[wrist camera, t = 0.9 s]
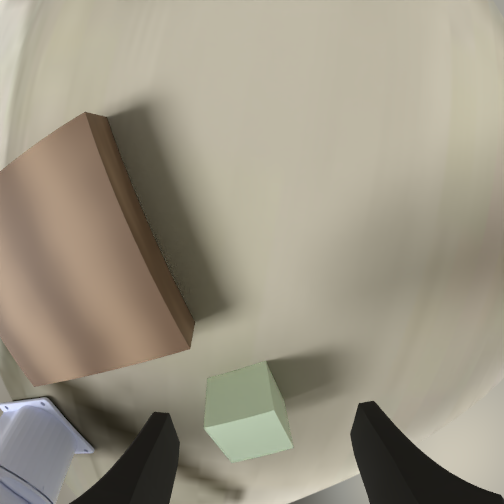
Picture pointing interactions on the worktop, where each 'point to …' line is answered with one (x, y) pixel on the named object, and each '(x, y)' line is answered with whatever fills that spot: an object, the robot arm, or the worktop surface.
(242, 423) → the sage block
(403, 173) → the worktop surface
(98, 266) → the walnut base
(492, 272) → the worktop surface
